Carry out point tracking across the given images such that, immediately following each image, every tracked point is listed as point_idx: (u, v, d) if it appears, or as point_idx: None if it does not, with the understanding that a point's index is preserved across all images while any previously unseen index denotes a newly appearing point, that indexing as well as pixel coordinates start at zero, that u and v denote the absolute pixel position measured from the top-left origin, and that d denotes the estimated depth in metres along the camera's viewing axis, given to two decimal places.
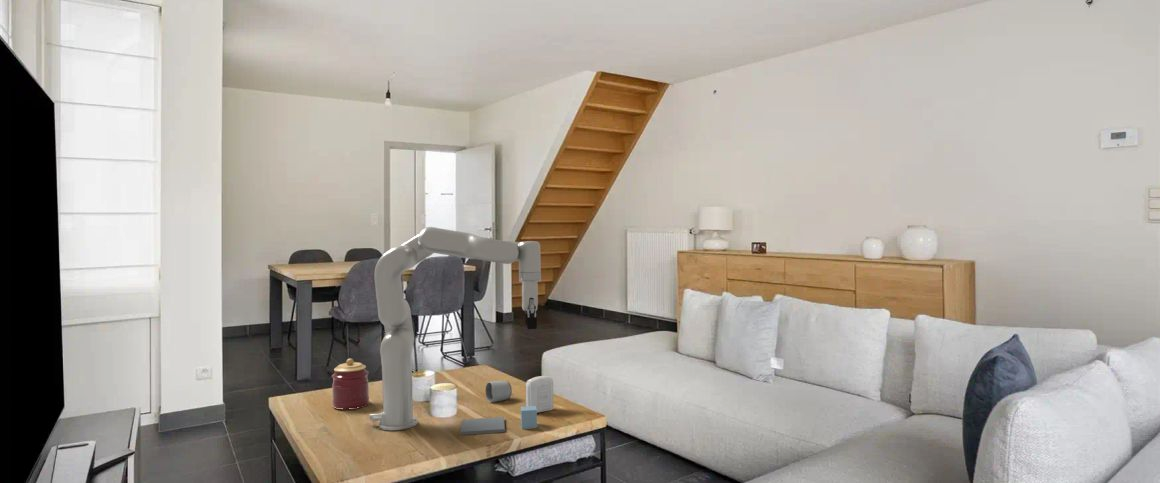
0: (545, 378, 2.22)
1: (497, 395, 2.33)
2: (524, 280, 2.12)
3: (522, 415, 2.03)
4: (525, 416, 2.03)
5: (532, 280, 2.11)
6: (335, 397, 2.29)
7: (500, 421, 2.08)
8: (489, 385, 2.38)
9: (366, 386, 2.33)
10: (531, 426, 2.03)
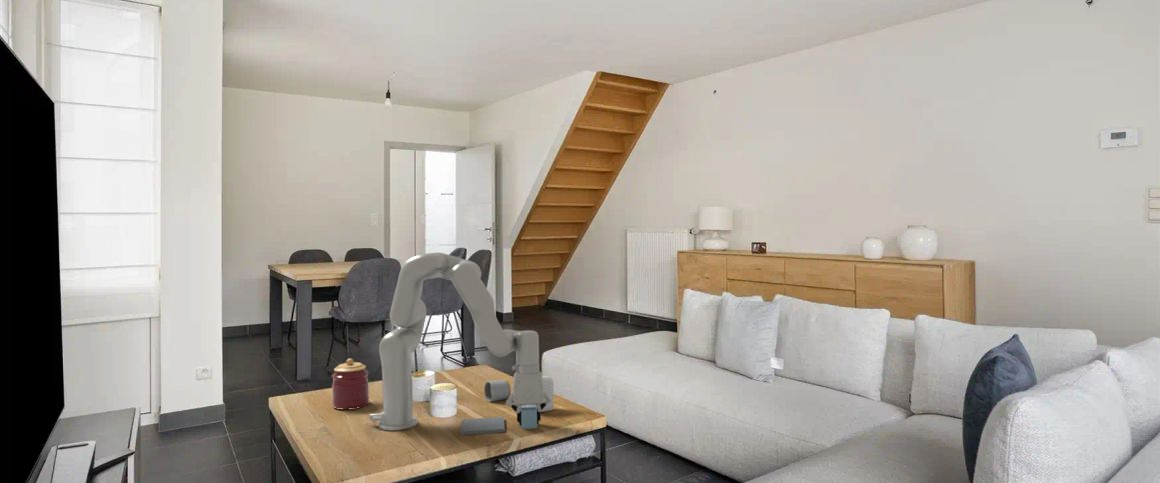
0: (545, 378, 2.22)
1: (496, 394, 2.34)
2: (537, 372, 2.04)
3: (522, 415, 2.03)
4: (525, 416, 2.03)
5: None
6: (335, 397, 2.29)
7: (500, 421, 2.08)
8: (488, 384, 2.39)
9: (366, 386, 2.33)
10: (531, 426, 2.03)
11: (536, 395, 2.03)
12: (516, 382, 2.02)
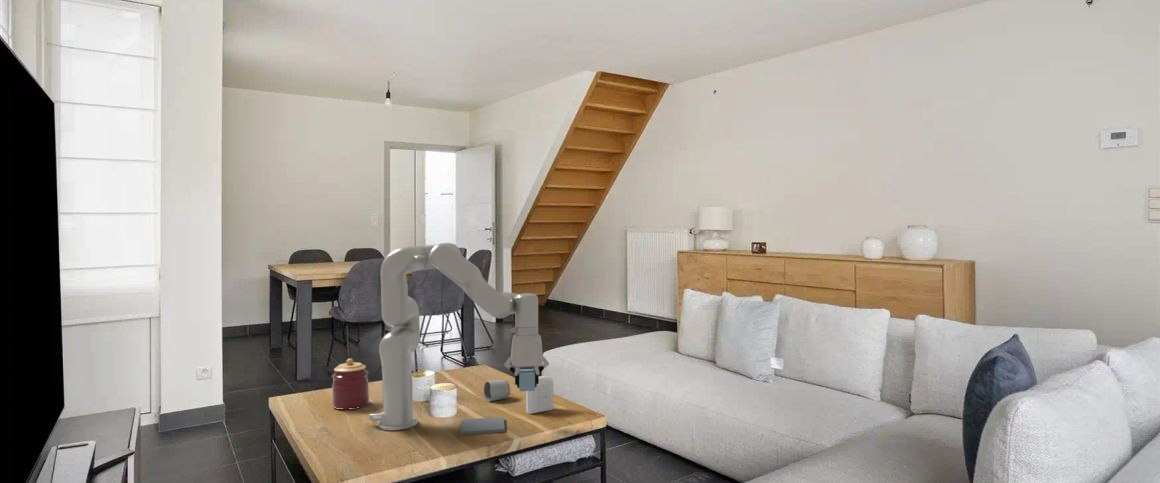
0: (545, 378, 2.22)
1: (495, 394, 2.34)
2: (536, 334, 2.03)
3: (520, 377, 2.03)
4: (523, 378, 2.03)
5: None
6: (335, 397, 2.29)
7: (500, 421, 2.08)
8: (487, 384, 2.39)
9: (366, 386, 2.33)
10: (529, 388, 2.03)
11: (534, 358, 2.03)
12: (515, 344, 2.02)
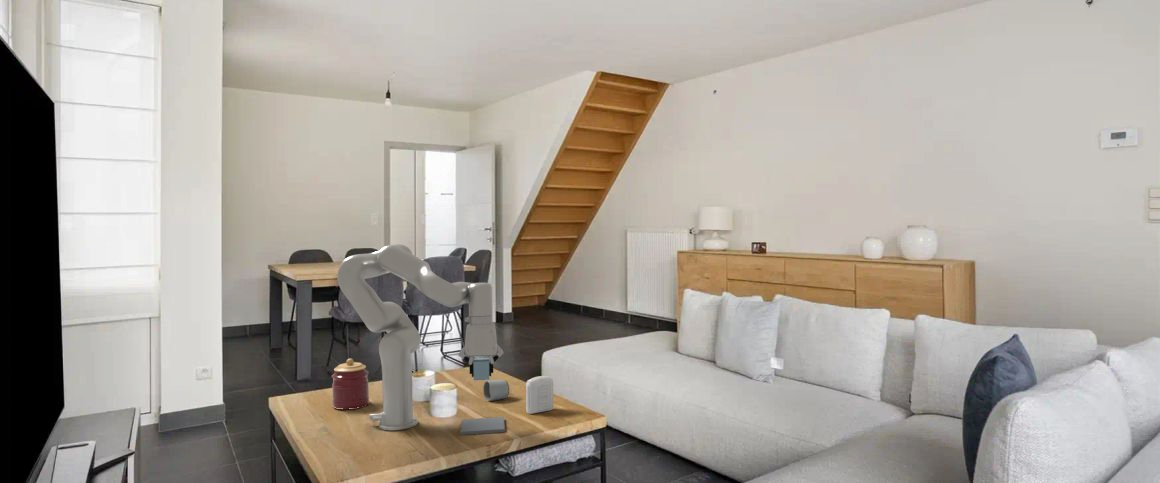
0: (545, 378, 2.22)
1: (495, 394, 2.34)
2: (490, 323, 2.03)
3: (474, 366, 2.02)
4: (477, 367, 2.02)
5: None
6: (335, 397, 2.29)
7: (500, 421, 2.08)
8: (487, 384, 2.40)
9: (366, 386, 2.33)
10: (483, 377, 2.03)
11: (488, 347, 2.03)
12: (468, 333, 2.02)
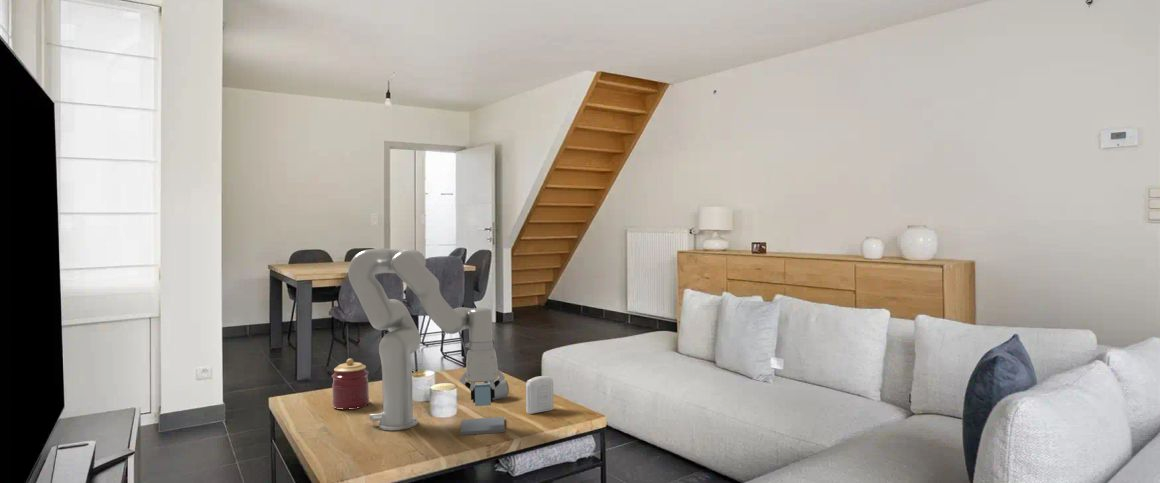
0: (545, 378, 2.22)
1: None
2: (490, 349, 2.03)
3: (475, 392, 2.02)
4: (478, 393, 2.03)
5: (492, 347, 2.06)
6: (335, 397, 2.29)
7: (500, 421, 2.08)
8: None
9: (366, 386, 2.33)
10: (485, 403, 2.03)
11: (489, 372, 2.03)
12: (469, 359, 2.02)
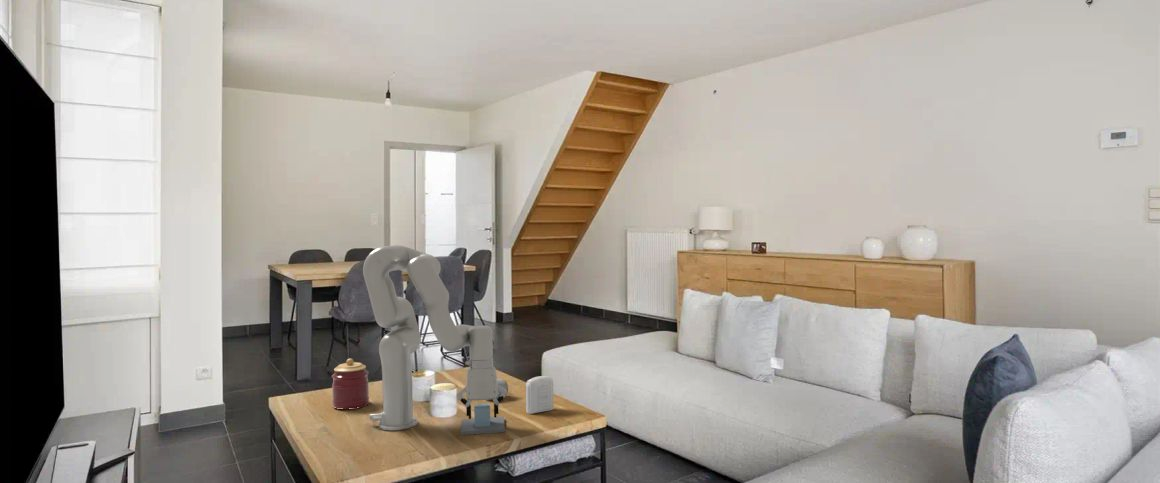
0: (545, 378, 2.22)
1: None
2: (491, 367, 2.04)
3: (475, 413, 2.03)
4: (478, 414, 2.03)
5: (492, 365, 2.06)
6: (335, 397, 2.29)
7: (500, 421, 2.08)
8: None
9: (366, 386, 2.33)
10: (484, 424, 2.03)
11: (489, 390, 2.03)
12: (469, 377, 2.02)
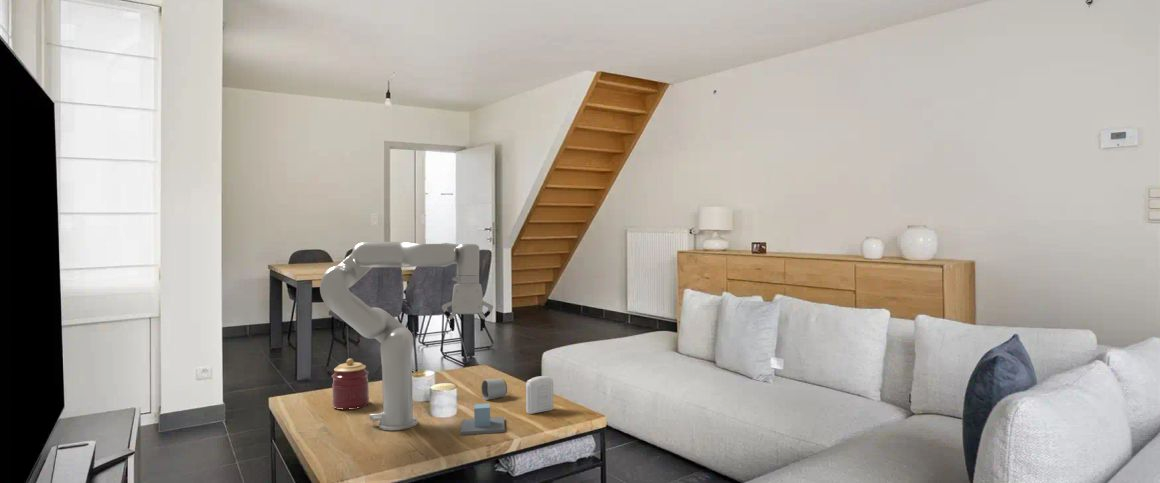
0: (545, 378, 2.22)
1: (493, 392, 2.36)
2: (476, 283, 2.11)
3: (475, 413, 2.03)
4: (478, 414, 2.03)
5: None
6: (335, 397, 2.29)
7: (500, 421, 2.08)
8: (485, 383, 2.42)
9: (366, 386, 2.33)
10: (484, 424, 2.03)
11: (474, 305, 2.10)
12: (455, 291, 2.09)
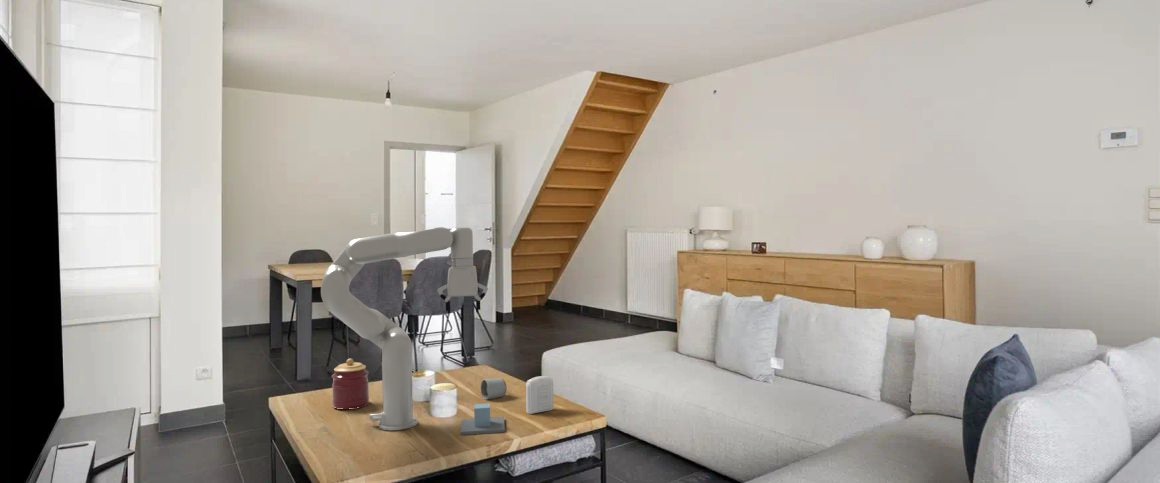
0: (545, 378, 2.22)
1: (492, 392, 2.37)
2: (471, 265, 2.15)
3: (475, 413, 2.03)
4: (478, 414, 2.03)
5: None
6: (335, 397, 2.29)
7: (500, 421, 2.08)
8: (484, 382, 2.42)
9: (366, 386, 2.33)
10: (484, 424, 2.03)
11: (469, 287, 2.14)
12: (450, 274, 2.13)
